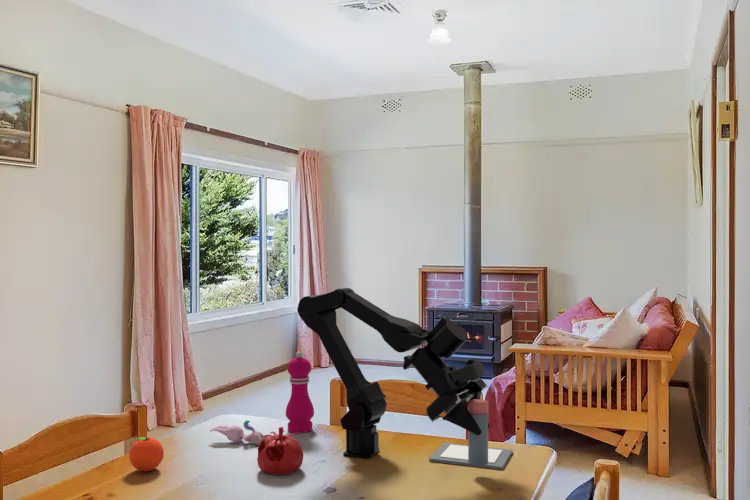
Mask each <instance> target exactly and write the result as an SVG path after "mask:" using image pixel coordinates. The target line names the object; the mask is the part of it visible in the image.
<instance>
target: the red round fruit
mask: <svg viewBox="0 0 750 500" xmlns="http://www.w3.org/2000/svg"><path fill="white" fill-rule="evenodd" d="M284 432H285V430H284V426H279V427H278V434H277V432H275V431H271V432H270V434H264V435H265V436H268V437H266V438H264V439H263V440H262V441H261V443H260V444H259V445H257V446H258V447H257V460H256V461H257V466H258V468H259V469H260V471H262V472H264V473H267V474H269V475H275V476H279V475H289V474H292V473H293V472H295V471H297V470H298V469H300V468H301V466H302V465H303V463H304V461H303V460H304V451H303V448H302V445H301V443H300V442H299V440H297V439H296V438H294V437H293V436H292V435H299V433H293V432H291V433H287V434H284ZM272 434H273V435H272ZM262 437H263V436H262Z"/></svg>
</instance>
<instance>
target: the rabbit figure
mask: <svg viewBox="0 0 750 500" xmlns="http://www.w3.org/2000/svg"><path fill="white" fill-rule="evenodd" d="M250 422H251V421H250V420H248V419H247V420H245V421H244V422H243V428H244V429H245V430H247V431H252V432H251V433H248V434H247V433H246V434H245V433H244V429H243V428H242V427H240V426H239V425H231V426H228V425H223V424H222V425H221V424H220V425H218V426H215V427H213V428H212V429H210V430H209V431H210V432H214V431H215V432H218V433H220V434H222V435H224V436H225V437H227V440H229V441H232V443H233V442H234V443H236V444H239V443H240V442H242V441H243V440H244V441H245V442H246V443H247V442H248V443H252V444H254V445H256V446H259V444H260V443H261V441H262V440H263V439H264V438H266V437H268V436H265V435H266V434H262V432H260V431H257V430H256V429H255V428H254V427H253V426H252V425H250V424H249V423H250ZM262 436H263V437H262Z"/></svg>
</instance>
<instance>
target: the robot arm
mask: <svg viewBox="0 0 750 500" xmlns="http://www.w3.org/2000/svg"><path fill="white" fill-rule="evenodd" d="M296 309H297V313H298V316H299V318H301V320H302V321H303V323H304V324H305V326H306V327H307V328H309V329H310V330H311V331H313V332H314V333H315V334H316V335H317V336H318V338H319V339H320V342H321V343H322V346H323V348H324V349H325V351H326V353H327V355H328V358H330V361H331V363H332V365H333V366H334V368H335V370H336V372H337V374H338V376H339V378H340V380H341V381H342V384H343V386H344V387H345V390H346V393H345V394H346V395H345V396H346V397H345V398H346V405H347V407H348V411H347V412H346V413H345V414H344V415H343V416H342V417H341V418H340V424H341V428H342V429H343V430H345V446H346V447H345V451H343V453H342V455H343V456H349V457H357V458H364V459H365V458H366V459H370V458H371V457H373V456H374V455H375V454H376V453H378V452H380V445H379V442H380V441H379V432H378V431H377V424H379V423H380V422H381V419H382V416H384V414H385V412H386V410H387V404H388V403H387V401H386V399H385V398H387V396H386V395H385V394H384V392H383V391H382V389H381V386H380V384H379V382H378V381H374V382H370V381H369V380H368V379H366V377H365V376H364V374H363V372H362V370H361V369H360V367H359V364H358V362H357V361H356V359H355V357H354V355H353V354H352V351H351V350H350V348H349V346H348V344H347V341H346V340H345V339H344V337H343V335H342V333H341V330H340V329H339V327H338V325H337V324H338V323H337V311H336V310H338V309H342V310H345V311H346V312H348V313H349V314H351V315H352V316H353V317H355V318H357V319H358V320H360V321H361V322H363V323H364V324H366V325H368V326H369V327H370V328H372V329H374V330H375V331H377V332H378V333H379V334H380V335H381V337H382V339H383V341H384V342H385V343H386V344H387V345H388V346H390V348H392V349H393V350H394V351H395V352H397V353H405V352H406V353H407V352H409V351H412V350H415V351H413V353H412V354H410V355H405V356H403V363H402V364H403V366H402V369H403V370H409V369H411V368H414V369H415V370H416V371H417V373H418V374H419V375H420V376H421V377H422V378H423V380H424V381H425V383H426V385H424V387H425V389H426V390H427V391H429V390H432V391H433V393H434V394H435V395H436V396H437V398H435V399H434V400H433V401H432V402H431V403H430V404H429V405H428V406H427V407H426V416H427V417H428V419H429V420H430V421H431V422H432V423H434V422H435V421H437V420H439V419H440V418H441V415H442V414H443V413H444V414H445V415H444V416H443V417H442V418H441V420H442V421H446V422H449V423H451V424H454V425H456V426H458V427H461V429H464V430H466V431H470V432H472V433H474V434H476V435H480V434H481V433H482V431H481V429H480V428H479V426H478V424H477V423H476V421H475V420H474V418H473V417H472V416H471V414H470V413H469V411H468V401H469V400H473V399H480V400H481V395H482V394H483V392H482V391H483V390H484V389H486V387H488V386H487V385H488V384H486V382H484V380H483V379H482V377H484V376H485V373H484V371H483V368H484V367H485V365H484V364H483V363H481V360H478V359H477V358H476V357H473V358H471V359H468V360H466V361H465V366H463V367H461V368H459V369H457V367H456V366H454V365H453V364H452V365H448V364H447V362H445V361H444V359H443V358H445V359H450V358H451V357H452V356H453V355H454V354H455V353H456V352H457V351H458V350H459V349H460V348H461V347H462V346H463V345H464V344H465V343H466V342H467V341H468V340H469V336H468V333H467V332H466V330H465V329H464V328H463V326H460V325H459V324H458V323H456V322H454V321H452V320H450V319H449V317H448V316H445V317H441V319H440V320H439V321H438V322H437V324H436V326H434V328H432V330H430V329H424V328H423V327H422V326H420V325H419V324H418V323H416V322H413V321H411V320H409V319H407V318H401V317H397V316H395V315H392V314H390V313H388V312H386V311H385V310H383V309H382V308H380V307H379V306H377V305H375V304H374V303H372V302H371V301H369V300H368V299H366V298H364V297H363V296H361V295H359V294H358V293H356V292H355V291H354V290H353V289H351V288H350V287H343V288H337V289H334V290H333V291H330V292H326V293H323V294H321V293H320V294H315V295H313V294H312V295H306V296H303V297H301V299H300V300H299V302H298V306H297V308H296ZM423 344H426V345H425V346H424V347H421V346H423ZM490 428H491V425H490V423H489V422H488V430H489V429H490Z"/></svg>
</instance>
